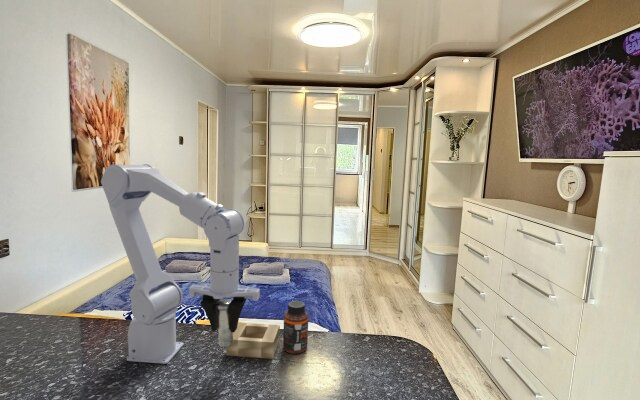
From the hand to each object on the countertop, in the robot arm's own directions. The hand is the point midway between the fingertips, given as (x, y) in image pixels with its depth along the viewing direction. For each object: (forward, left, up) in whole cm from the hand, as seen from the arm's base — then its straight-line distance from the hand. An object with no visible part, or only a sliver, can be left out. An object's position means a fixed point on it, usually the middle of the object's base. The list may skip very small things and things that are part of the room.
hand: (224, 329), depth 71 cm
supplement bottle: (+14, +10, -9) cm, 20 cm away
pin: (0, 0, -3) cm, 3 cm away
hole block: (+4, +9, -9) cm, 14 cm away
